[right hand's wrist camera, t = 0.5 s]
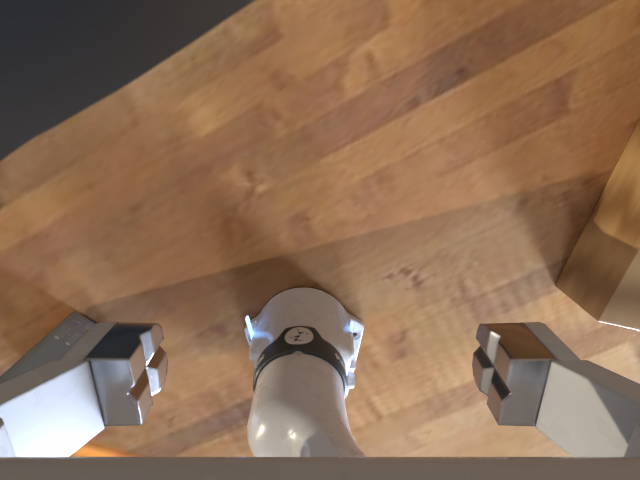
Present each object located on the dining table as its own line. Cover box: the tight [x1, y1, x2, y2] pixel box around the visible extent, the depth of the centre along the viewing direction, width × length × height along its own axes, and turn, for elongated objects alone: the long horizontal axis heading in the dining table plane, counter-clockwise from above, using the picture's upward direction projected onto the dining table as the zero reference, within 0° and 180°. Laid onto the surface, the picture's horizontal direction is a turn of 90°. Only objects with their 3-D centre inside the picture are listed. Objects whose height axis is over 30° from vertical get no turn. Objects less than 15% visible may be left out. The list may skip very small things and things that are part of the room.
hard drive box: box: [0, 311, 95, 384], centre depth 55 cm, size 16×8×20 cm, turn 139°
